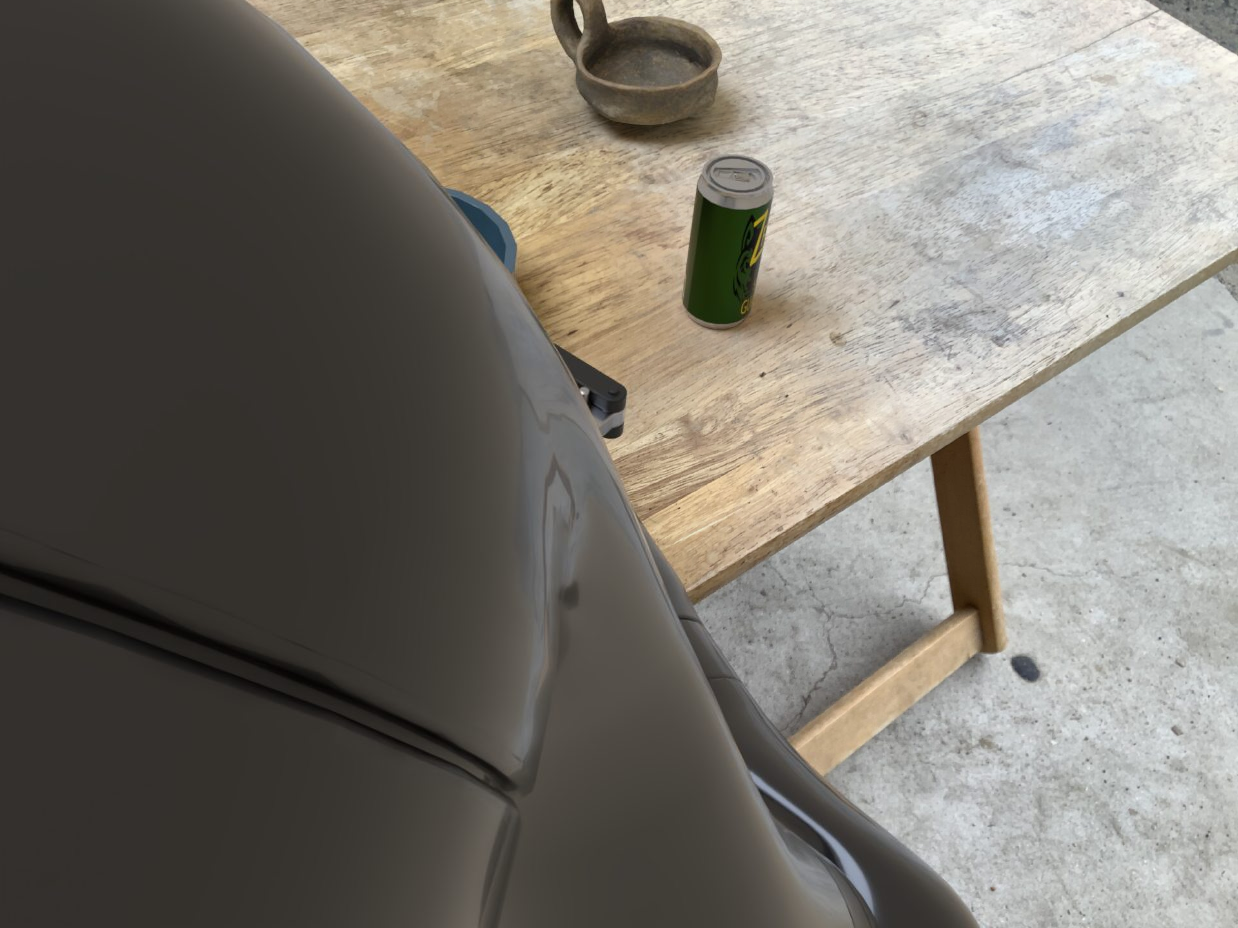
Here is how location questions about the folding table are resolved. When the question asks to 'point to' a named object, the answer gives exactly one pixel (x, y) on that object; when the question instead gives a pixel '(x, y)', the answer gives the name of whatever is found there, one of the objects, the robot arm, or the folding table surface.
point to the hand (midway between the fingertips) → (408, 320)
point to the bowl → (638, 63)
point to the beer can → (727, 240)
